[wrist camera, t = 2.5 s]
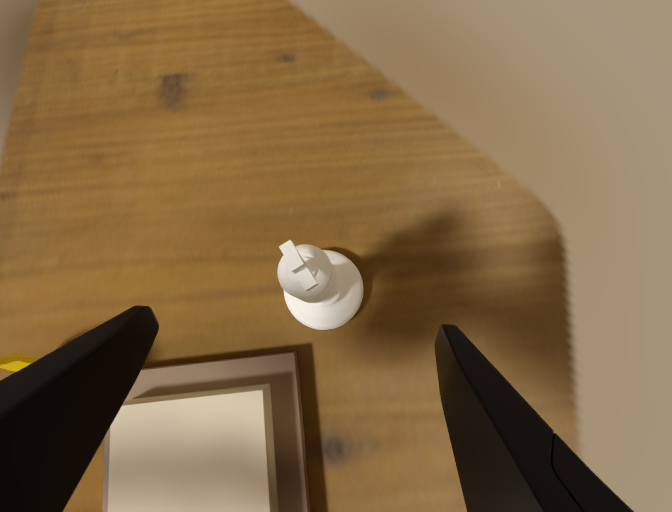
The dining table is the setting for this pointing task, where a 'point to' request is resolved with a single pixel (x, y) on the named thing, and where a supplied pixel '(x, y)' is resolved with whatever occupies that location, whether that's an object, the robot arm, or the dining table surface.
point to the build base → (210, 439)
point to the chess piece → (319, 285)
